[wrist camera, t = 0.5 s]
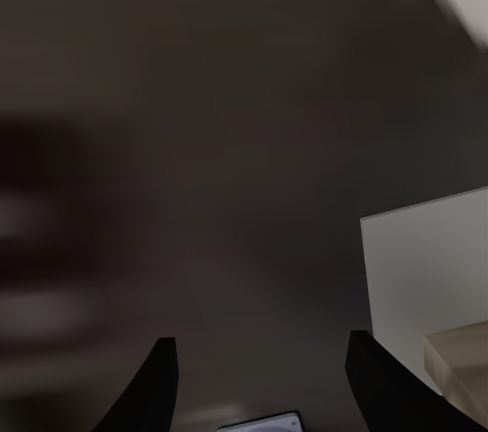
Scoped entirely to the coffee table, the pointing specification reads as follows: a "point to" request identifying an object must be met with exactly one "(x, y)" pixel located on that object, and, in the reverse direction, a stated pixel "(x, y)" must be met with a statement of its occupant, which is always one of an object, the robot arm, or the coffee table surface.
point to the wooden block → (461, 367)
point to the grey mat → (426, 272)
